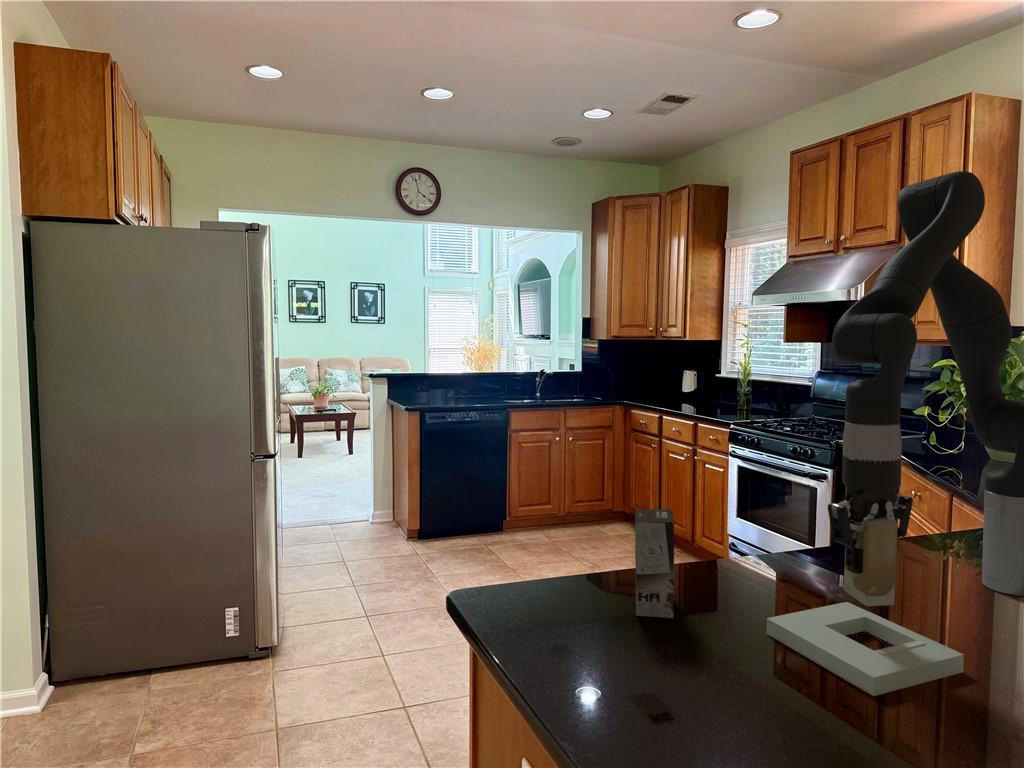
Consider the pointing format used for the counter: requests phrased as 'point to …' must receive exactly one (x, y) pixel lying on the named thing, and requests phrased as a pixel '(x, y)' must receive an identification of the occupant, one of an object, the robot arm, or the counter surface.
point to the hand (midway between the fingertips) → (869, 568)
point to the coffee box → (654, 562)
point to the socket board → (864, 648)
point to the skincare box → (875, 565)
